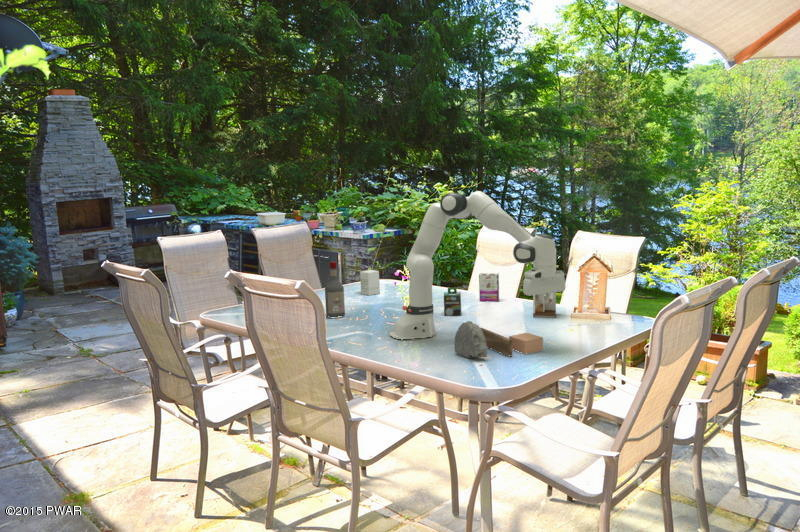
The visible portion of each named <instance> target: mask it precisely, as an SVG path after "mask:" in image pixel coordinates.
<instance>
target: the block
mask: <svg viewBox="0 0 800 532" xmlns="http://www.w3.org/2000/svg"><path fill="white" fill-rule="evenodd" d="M508 338H509V339H511V340H512V349H514V350H517V351H519V352H522V353H525V354H524V355H527V354H526V353H530V354H532V353H531V352H534V353H537V352H536V351H538V352H542V351H541V350H544V349H543V348H544V341H543V339H544V338H543V336H540V335H536V334H533V333H529V332H523V333H517V334H514V335H509V337H508ZM519 352H518V353H519ZM522 353H521V354H522Z"/></svg>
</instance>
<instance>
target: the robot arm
mask: <svg viewBox="0 0 800 532" xmlns="http://www.w3.org/2000/svg"><path fill="white" fill-rule="evenodd" d="M471 216H474V218H476V219H477V220H478V221H479V222H480V224H481V225H483V226H484V227H485V228H486V229H488V230H491V231H496V232H497V231H498V232H503V233H506V234H508V235H510V236H512V237H513V239H515V240H516V241H517V242H518V243H516V244H515V246H514V247H513V251H512V252H513V253H512V255H513V258H514V259H515V261H516V262H518V263H520V264H529V263H532V264H533V263H534V268H533V267H532V268H529V270H527V271H525V272H523V273H524V274H523V276H524V277H525V278H524V279H523V282H522V292H523V295H526V296H528V297H529V296H533V295H538V296H539V298H540V299H541V304H546V303H549V298H550V296H551V293H554V292H556V293H559V292H565V290H566V279H565V272H564V271H563V270H561V269H560V270H559V269H558V270H556V271H555V261H554V258H555V248H556V242H555V238H554V237H553V236H552V235H550V234H546V233H537V234H536V235H535V236H534V235H533V234H532V233H530V232H529V231H528V230H527V228H525V227H524V226H523V225H522V224H520V223H519V222H518V221H516V219H514V218H513V216H511V215H509V214H508V213H507V212H506V210H503V208H502V207H501V206H499V204H497V202H495V200H493V198H491V197H490V196H488V195H487V194H486V193H484V192H483V191H481V190H476V191H474V192H472V193H471V194H470V195H469V196H466V195H465V194H461V193H458V192H448V193H446V194H444V195H443V196H442V197H441V199H440V202H433V203H432V204H431V205H430V206H429V207H428V209H427V211H426V212H425V214H424V217H423V220H422V222H421V225H420V228H419V230H418V234H417V236H416V239H415V241H414V243H413V245H412V247H411V250H410V251H409V253H408V256H407V258H406V261H405V262H406V263H405V264H406V268H407V269H408V271H409V275H410V276H409V286H408V302H409V304H408V306H406V305H403V306H402V307H401V309H402V310H403V311H406V312H405V314H404V315H402V316H401V317H400V318H399V319H398V320H396V322H395V324H394V328H393V329H394V330H393V331H390V332H389V336H390V337H391V336H392V337H393V339H394V338H396V339H395V340H397V339H401V340H400V341H404V340H403V339H412V340H415V339H414V338H422V339H427V338H426V337H431V338H433V337H432V336H435V335H436V334H437V330H436V326H435V321H434V320H435V319H434V314H435V313H434V304H433V283H434V270H435V265H434V261H433V257H434V254H435V252H436V251H437V249H438V247H439V246H440V243H441V241H442V238H443V235H444V232H445V229H446V227H447V223H448V222H449V220H467V219H469V218H471ZM544 294H545V295H546V297H545V299H544V298H543V296H544ZM392 337H391V338H392Z"/></svg>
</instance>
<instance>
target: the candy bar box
mask: <svg viewBox="0 0 800 532" xmlns="http://www.w3.org/2000/svg"><path fill="white" fill-rule="evenodd" d="M478 282H479V284H478V285H479V286H478V288H479V289H478V290H479V302H486V301H498V302H499V301H500V272H499V273H497V272H496V273H495V272H491V273H489V272H485V273H484V272H480V273H479V274H478Z"/></svg>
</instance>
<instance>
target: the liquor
mask: <svg viewBox="0 0 800 532" xmlns="http://www.w3.org/2000/svg"><path fill="white" fill-rule="evenodd" d="M337 267H338V266H337V261H330V262H329V268H330V271H329V272H330V279H329V281H328V282H327V283H326V284H325V287H324V295H325V296H324V297H325V314H327V315H326V317H327V316H329V317H338V316H344V315H346V307H345V306H346V305H345V288H344V285H343V283H341V281H339V280H338V274H337V273H338V272H337ZM329 317H328V318H329ZM344 317H345V316H344Z"/></svg>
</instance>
